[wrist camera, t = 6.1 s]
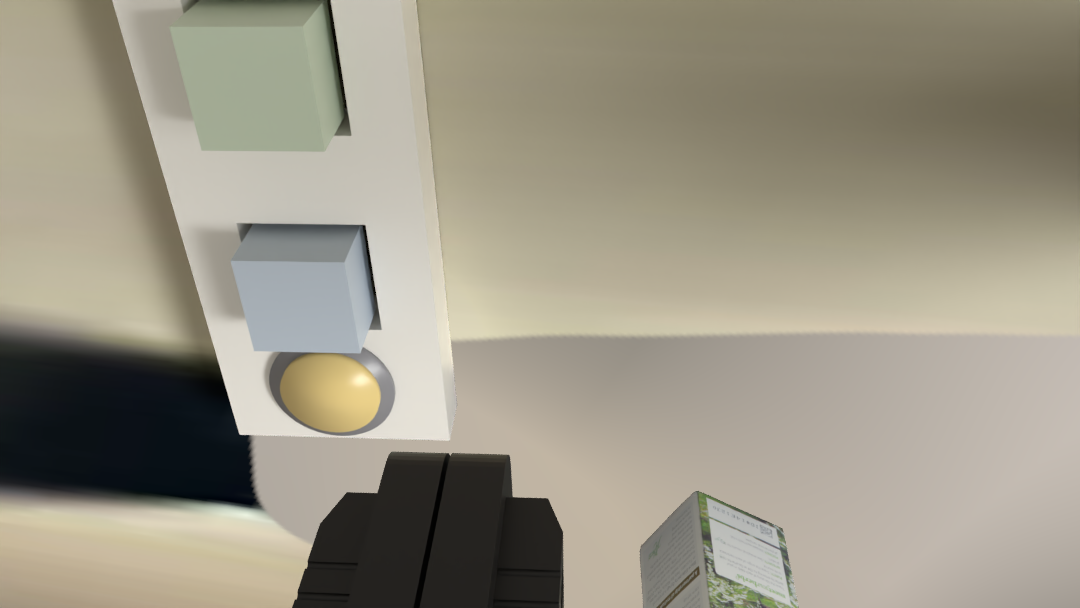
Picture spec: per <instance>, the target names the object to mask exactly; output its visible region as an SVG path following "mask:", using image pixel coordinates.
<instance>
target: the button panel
mask: <svg viewBox="0 0 1080 608" xmlns="http://www.w3.org/2000/svg"><path fill="white" fill-rule="evenodd" d="M198 1H199V0H112V2H113V5H114V9H115V12H116V15H117V19H118V22H119V26H120V29H121V32H122V36H123V39H124V43H125V46H126V49H127V53H128V56H129V60H130V63H131V66H132V70H133V73H134V77H135V80H136V83H137V87H138V90H139V94H140V97H141V100H142V104H143V107H144V111H145V114H146V117H147V121H148V124H149V128H150V131H151V134H152V138H153V141H154V145H155V148H156V152H157V155H158V158H159V162H160V165H161V169H162V172H163V175H164V179H165V182H166V186H167V189H168V192H169V196H170V199H171V203H172V206H173V209H174V213H175V216H176V220H177V223H178V226H179V230H180V233H181V237H182V240H183V243H184V247H185V250H186V254H187V257H188V260H189V264H190V267H191V271H192V274H193V277H194V281H195V284H196V288H197V291H198V294H199V298H200V301H201V305H202V308H203V311H204V315H205V318H206V322H207V325H208V328H209V332H210V335H211V339H212V342H213V345H214V349H215V352H216V356H217V359H218V362H219V366H220V369H221V373H222V376H223V380H224V383H225V386H226V390H227V393H228V397H229V400H230V403H231V407H232V410H233V414H234V417H235V420H236V424H237V427H238V431H239V434H240V435H270V436H305V437H341V438H343V437H344V438H378V439H413V440H448V441H449V440H450V437H451V432H452V427H453V422H454V417H455V412H456V407H457V399H456V389H455V379H454V369H453V359H452V349H451V339H450V329H449V319H448V310H447V300H446V290H445V280H444V270H443V260H442V250H441V240H440V230H439V221H438V211H437V201H436V191H435V181H434V171H433V161H432V151H431V141H430V132H429V122H428V112H427V102H426V92H425V82H424V72H423V62H422V52H421V43H420V33H419V23H418V13H417V3H416V0H331V6H332V12H333V19H334V25H335V32H336V38H337V45H338V51H339V58H340V64H341V70H342V77H343V83H344V90H345V96H346V103H347V108H344V112H345V117H344V119H343V120H342V122H341V124H340V126H339V127H338V129H337V131H336V133H335V135H334V136H333V138H332V140H331V142H330V143H329V145H328V147H327V149H326V151H325V152H310V151H202V150H201V146H200V143H199V139H198V135H197V131H196V127H195V123H194V120H193V116H192V112H191V108H190V104H189V101H188V97H187V93H186V89H185V85H184V81H183V78H182V74H181V70H180V66H179V62H178V59H177V55H176V51H175V47H174V43H173V39H172V36H171V32H170V28H169V26H171V25H172V24H173V23H174V22H175V21H176V20H177V19H179V18H180V17H181V16H182V15H183V14H184V13H186V12H187V11H188V10H189V9H190V8H191V7H192V6H194V5H195V4H196V3H197V2H198ZM253 223H261V224H339V225H366V231H367V238H368V244H369V251H370V257H371V264H372V270H373V276H374V283H375V289H376V296H374V302H375V308H376V311H375V313H374V316H373V319H372V322H371V325H370V328H369V331H368V333H367V336H366V339H365V342H364V345H363V348H362V350H361V353H315V352H269V351H254V349H253V345H252V341H251V337H250V333H249V329H248V326H247V322H246V318H245V314H244V310H243V307H242V303H241V299H240V295H239V291H238V288H237V284H236V280H235V276H234V272H233V268H232V265H231V259H232V257H233V256H234V254H235V253H236V251H237V249H238V248H239V246H240V244H241V243H242V241H243V240H244V238H245V236H246V235H247V233H248V231H249V230H250V228H251V227H252V225H253Z"/></svg>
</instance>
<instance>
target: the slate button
mask: <svg viewBox="0 0 1080 608" xmlns="http://www.w3.org/2000/svg"><path fill="white" fill-rule="evenodd" d="M231 265H232V268H233V272H234V276H235V280H236V284H237V288H238V291H239V295H240V299H241V303H242V307H243V310H244V314H245V318H246V322H247V326H248V329H249V333H250V337H251V341H252V345H253V349H254V351H269V352H315V353H361V350H362V348H363V345H364V342H365V339H366V336H367V333H368V331H369V328H370V325H371V322H372V319H373V316H374V313H375V311H376V308H375V302H374V295H373V289H372V283H371V276H370V270H369V264H368V257H367V251H366V245H365V238H364V232H363V226H362V225H339V224H261V223H253V225H252V227H251V228H250V230H249V231H248V233H247V235H246V236H245V238H244V240H243V241H242V243H241V244H240V246H239V248H238V249H237V251H236V253H235V254H234V256H233V257H232V259H231Z"/></svg>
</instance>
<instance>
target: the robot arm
mask: <svg viewBox="0 0 1080 608" xmlns="http://www.w3.org/2000/svg"><path fill="white" fill-rule="evenodd" d="M563 589H564V584H563V531H562V529H561V527H560V525H559V522H558V521H557V518H556V516H555V513H554V511H553V509H552V507H551V505H550V502H549V500H548V499H546V498H515V497H513V496H512V480H511V463H510V456H509V455H497V454H460V453H452V454H451V456H450V455H449V453H417V452H391V453H390V454H389V456H388V458H387V461H386V465H385V468H384V472H383V475H382V479H381V483H380V486H379V490H378V493H350V492H347V493H346V494H345V495H344V497H343V498H342V499H341V500H340V501H339V502H338V504H337V505H336V506H335V507H334V508H333V509H332V511H331V512H330V513H329V514H328V515H327V517H326V518H325V519H324V520H323V521H322V522H321V524H320V526H319V529H318V532H317V535H316V538H315V541H314V544H313V547H312V550H311V553H310V556H309V559H308V567H307V569H305V571H304V574H303V577H302V580H301V583H300V586H299V589H298V597H297V600H295V601H294V604H293V607H292V608H564V592H563V591H564V590H563Z"/></svg>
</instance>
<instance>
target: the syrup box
mask: <svg viewBox="0 0 1080 608" xmlns="http://www.w3.org/2000/svg"><path fill="white" fill-rule="evenodd" d="M640 564H641V578H642V594H643V608H799V606H798V602H797V596H796V591H795V587H794V581H793V576H792V573H791V567H790V562H789V559H788V552H787V547H786V542H785V538H784V533H783V529H782V528H780V527H778V526H776V525H774V524H772V523H769V522H767V521H765V520H762V519H760V518H758V517H756V516H753V515H751V514H749V513H747V512H744V511H742V510H740V509H738V508H736V507H733V506H731V505H728V504H726V503H724V502H722V501H720V500H718V499H715V498H713V497H711V496H709V495H706V494H704V493H702V492H699V491H696V492H694V493H693V494H692V495H691V496H690V497H689V498H688V499H687V500H685V502H683V503H682V504H681V505H680V506H679V507H678V508H677V509H676V510H675V511H674V512H673V513H672V514H671V516H669V517H668V519H667V520H666V521H665V522H664V523H663V524H662V525H661V526H660V527H659V528H658V529H657V530H656V531H655V532H654V533H653V534H652V535H651V536H650V537H649V538H648V539H647V541H646V542H645V543H644V544H643V545H642V546H641V549H640Z"/></svg>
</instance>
